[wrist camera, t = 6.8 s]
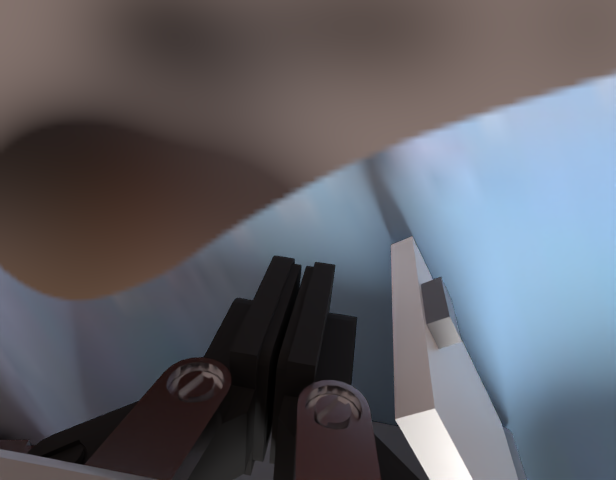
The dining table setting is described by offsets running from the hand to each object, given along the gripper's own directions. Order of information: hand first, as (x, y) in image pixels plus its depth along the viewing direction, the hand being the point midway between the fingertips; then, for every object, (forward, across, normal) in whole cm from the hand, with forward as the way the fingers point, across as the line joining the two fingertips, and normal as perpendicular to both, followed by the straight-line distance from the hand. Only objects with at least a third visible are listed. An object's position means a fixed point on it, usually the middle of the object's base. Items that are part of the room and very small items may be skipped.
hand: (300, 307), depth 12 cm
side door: (+4, -6, +4) cm, 8 cm away
